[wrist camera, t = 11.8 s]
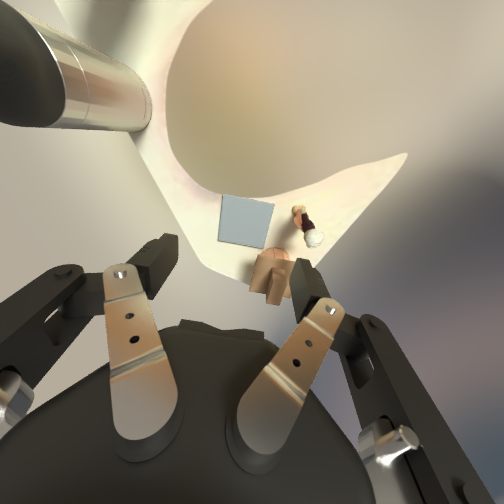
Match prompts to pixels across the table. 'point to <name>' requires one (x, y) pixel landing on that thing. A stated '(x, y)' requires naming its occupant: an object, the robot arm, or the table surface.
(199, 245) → the table surface
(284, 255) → the bowl
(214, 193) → the table surface
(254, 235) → the mat
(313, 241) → the grandmother figurine
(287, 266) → the lid
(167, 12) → the table surface
